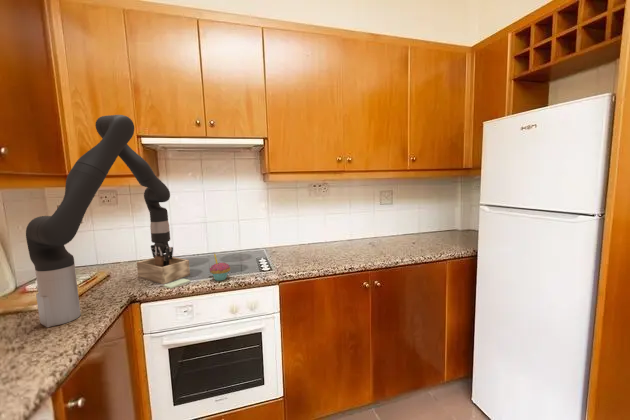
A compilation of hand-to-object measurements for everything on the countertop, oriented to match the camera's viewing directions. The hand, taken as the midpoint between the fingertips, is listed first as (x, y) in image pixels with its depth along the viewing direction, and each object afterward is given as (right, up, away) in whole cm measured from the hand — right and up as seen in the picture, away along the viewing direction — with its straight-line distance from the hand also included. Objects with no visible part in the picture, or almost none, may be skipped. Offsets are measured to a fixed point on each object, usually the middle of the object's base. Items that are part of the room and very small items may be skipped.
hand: (163, 267), depth 132 cm
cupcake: (+28, -4, -5) cm, 28 cm away
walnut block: (0, -1, 0) cm, 1 cm away
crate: (0, -4, +1) cm, 4 cm away
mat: (+11, -5, -10) cm, 16 cm away
